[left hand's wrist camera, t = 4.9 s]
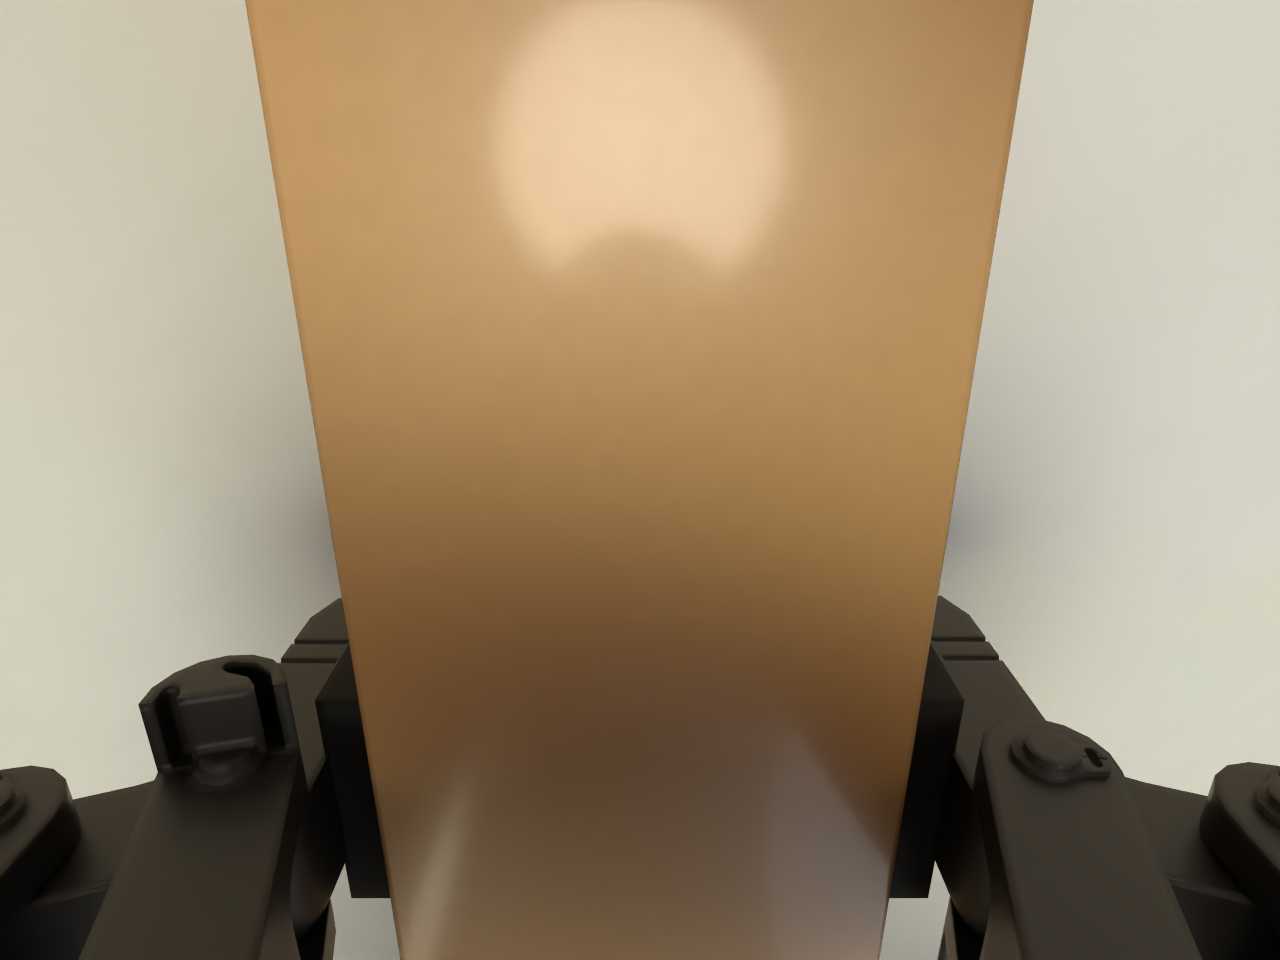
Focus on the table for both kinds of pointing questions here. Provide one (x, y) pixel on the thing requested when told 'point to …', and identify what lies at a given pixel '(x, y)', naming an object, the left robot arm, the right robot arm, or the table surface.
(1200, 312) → the table surface
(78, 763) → the table surface
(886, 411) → the bar
